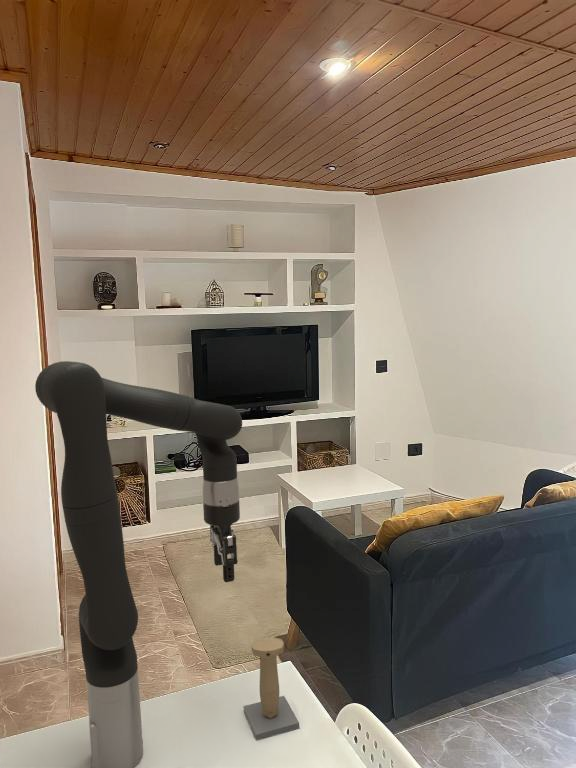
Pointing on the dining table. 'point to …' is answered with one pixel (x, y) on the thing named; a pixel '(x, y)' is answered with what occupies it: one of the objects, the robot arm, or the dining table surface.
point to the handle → (268, 673)
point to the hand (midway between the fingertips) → (224, 572)
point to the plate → (270, 719)
